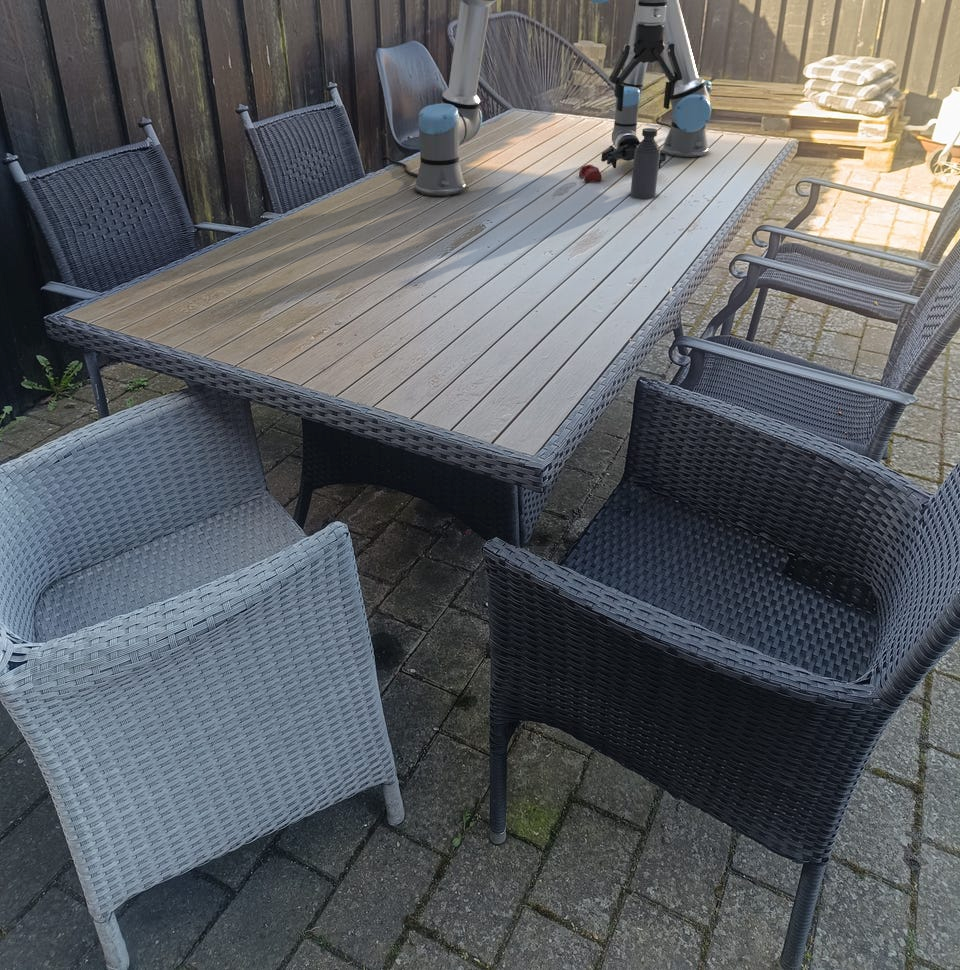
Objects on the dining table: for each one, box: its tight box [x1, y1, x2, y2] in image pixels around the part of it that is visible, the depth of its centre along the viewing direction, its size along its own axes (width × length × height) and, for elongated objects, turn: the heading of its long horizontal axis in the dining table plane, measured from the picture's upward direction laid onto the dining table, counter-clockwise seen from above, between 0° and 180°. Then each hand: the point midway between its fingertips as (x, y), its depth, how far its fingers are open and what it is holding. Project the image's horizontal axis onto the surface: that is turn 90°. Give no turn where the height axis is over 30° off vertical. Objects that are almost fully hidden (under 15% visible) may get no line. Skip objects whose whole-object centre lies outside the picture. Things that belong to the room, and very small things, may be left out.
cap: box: [641, 127, 658, 138], centre depth 244 cm, size 4×4×2 cm
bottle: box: [629, 136, 661, 200], centre depth 249 cm, size 7×7×18 cm
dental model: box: [578, 164, 603, 183], centre depth 266 cm, size 6×4×8 cm
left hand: (642, 109), depth 236 cm, fingers open, 13 cm apart
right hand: (637, 163), depth 258 cm, fingers open, 13 cm apart
